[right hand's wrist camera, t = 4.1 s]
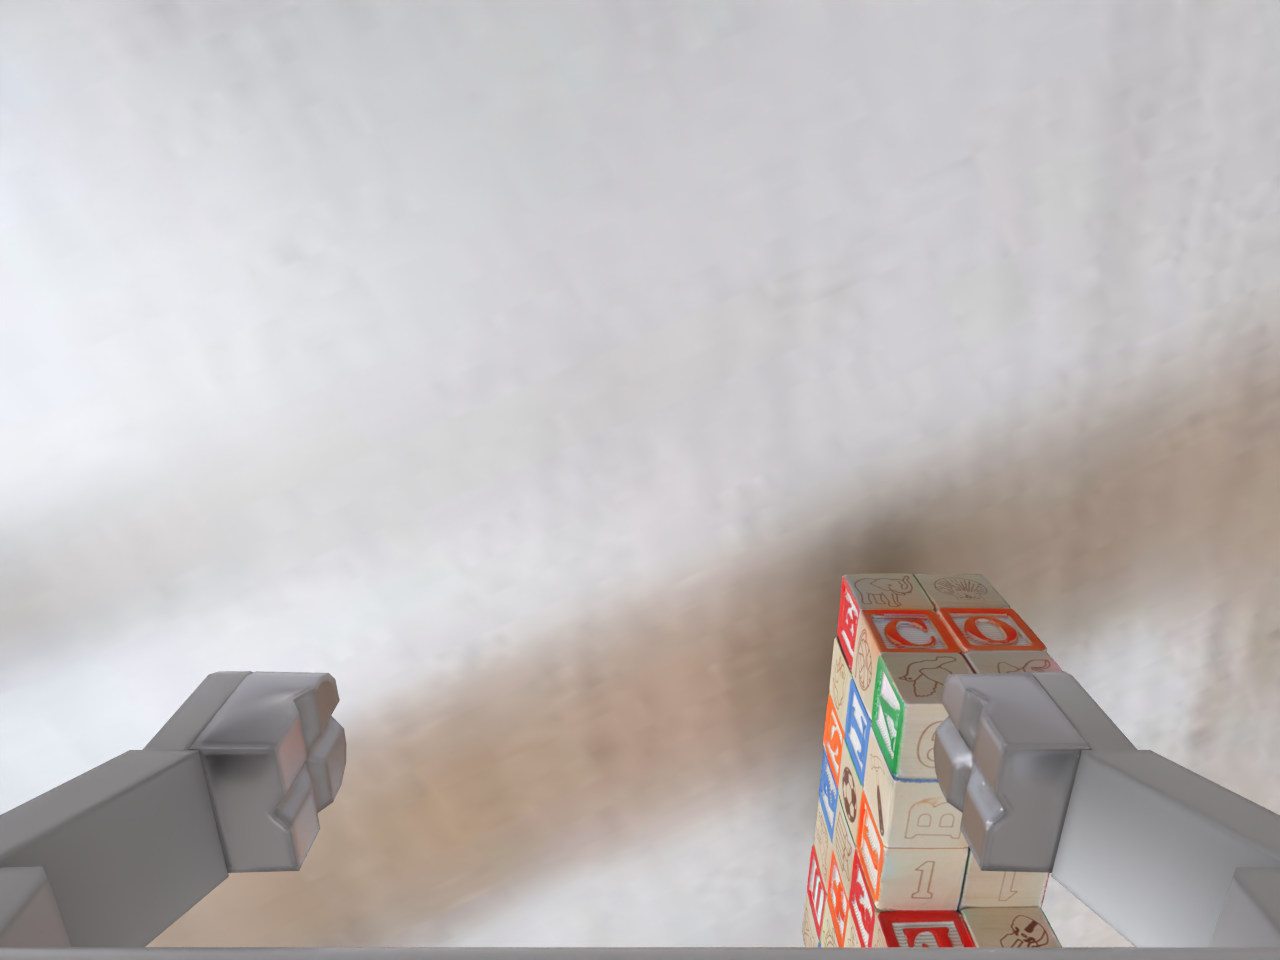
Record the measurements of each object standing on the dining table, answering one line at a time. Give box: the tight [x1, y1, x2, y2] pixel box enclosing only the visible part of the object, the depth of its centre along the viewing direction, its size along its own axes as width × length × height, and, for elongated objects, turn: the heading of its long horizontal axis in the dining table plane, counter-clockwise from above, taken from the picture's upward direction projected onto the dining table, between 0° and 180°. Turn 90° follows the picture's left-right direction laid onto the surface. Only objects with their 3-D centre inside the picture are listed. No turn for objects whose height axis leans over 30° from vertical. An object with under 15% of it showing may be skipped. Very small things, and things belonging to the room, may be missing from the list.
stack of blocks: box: [802, 573, 1062, 948], centre depth 32 cm, size 21×6×12 cm, turn 0°
